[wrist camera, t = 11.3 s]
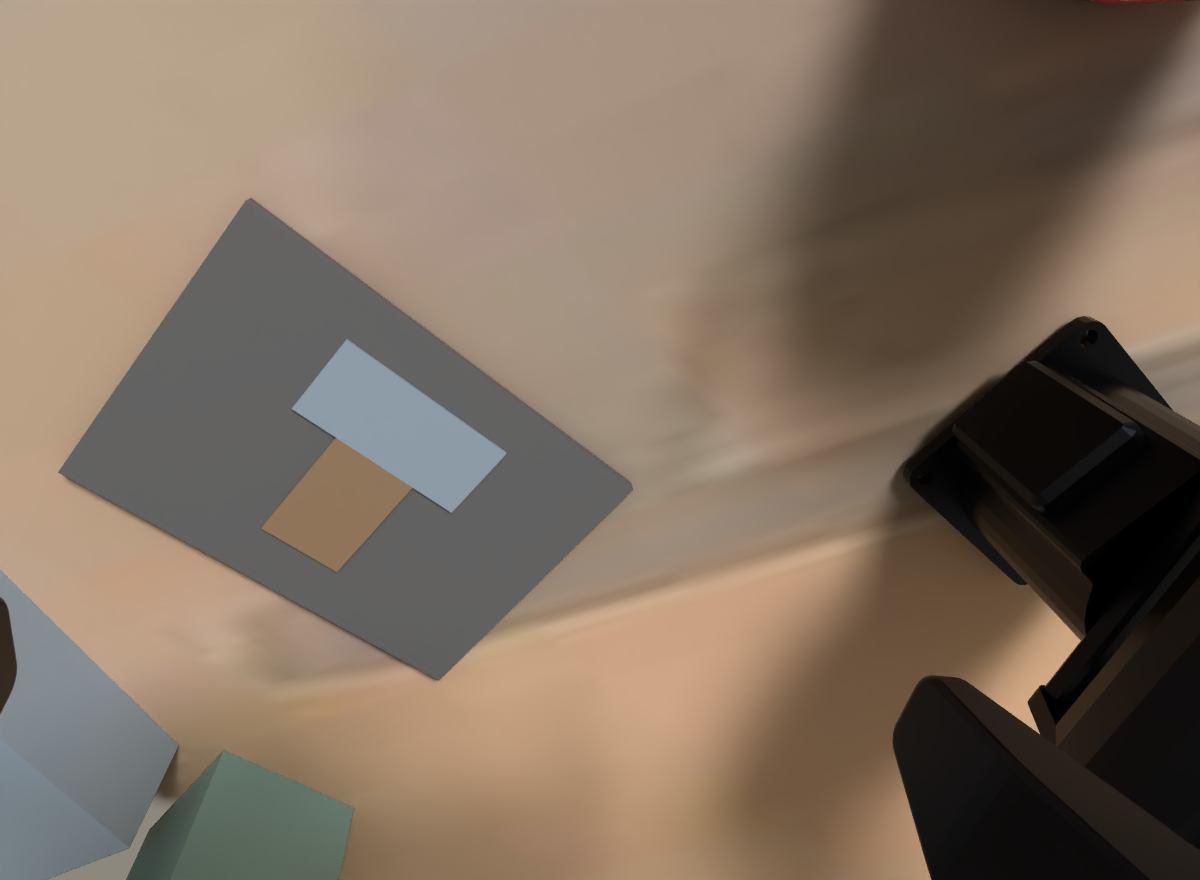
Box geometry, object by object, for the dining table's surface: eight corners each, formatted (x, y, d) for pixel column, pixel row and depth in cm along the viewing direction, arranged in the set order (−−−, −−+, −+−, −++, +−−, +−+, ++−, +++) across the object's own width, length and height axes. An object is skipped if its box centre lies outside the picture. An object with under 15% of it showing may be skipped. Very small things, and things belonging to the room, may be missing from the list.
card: (631, 482, 22) (633, 491, 22) (439, 671, 25) (438, 682, 24) (251, 197, 18) (244, 201, 17) (65, 465, 20) (55, 474, 20)
